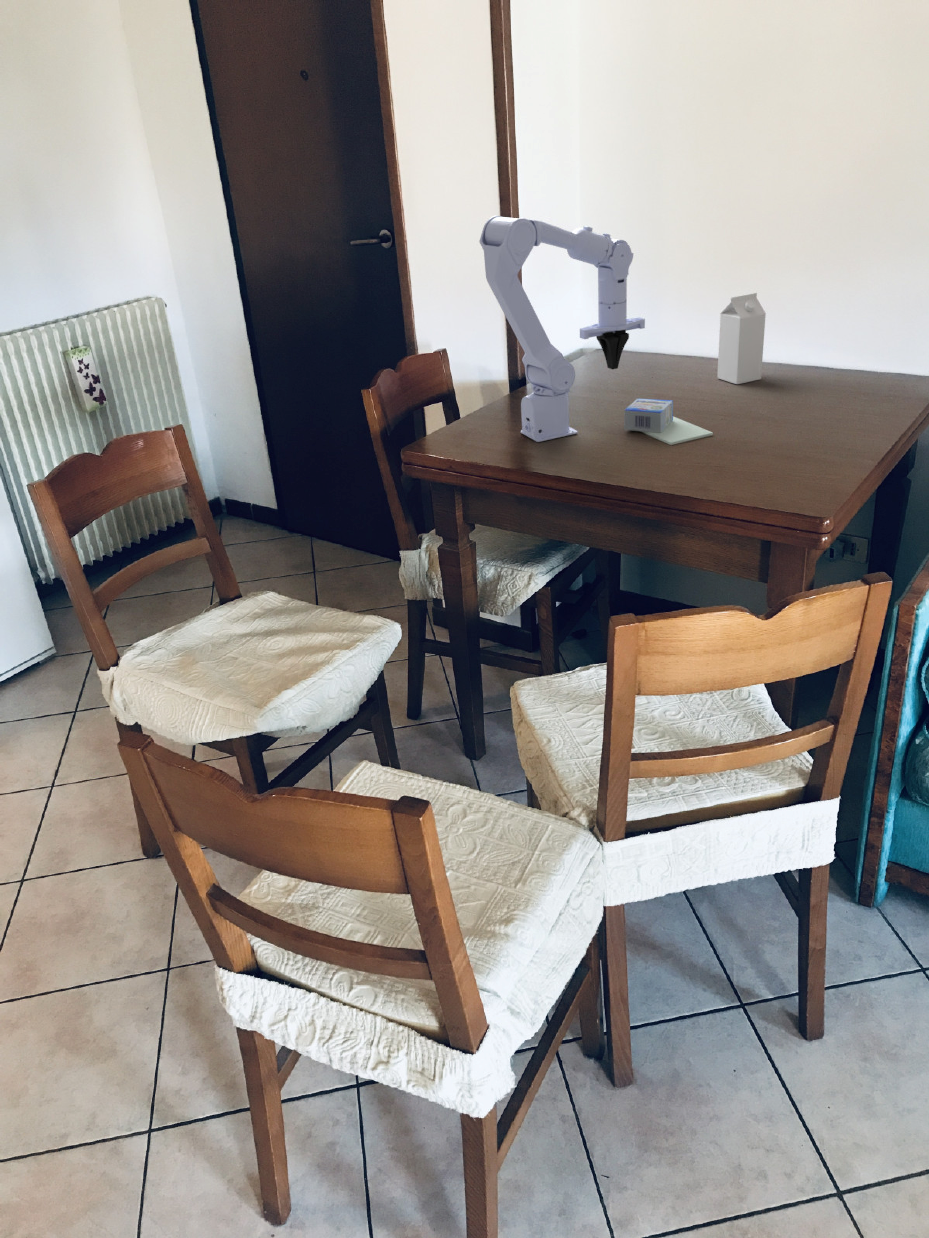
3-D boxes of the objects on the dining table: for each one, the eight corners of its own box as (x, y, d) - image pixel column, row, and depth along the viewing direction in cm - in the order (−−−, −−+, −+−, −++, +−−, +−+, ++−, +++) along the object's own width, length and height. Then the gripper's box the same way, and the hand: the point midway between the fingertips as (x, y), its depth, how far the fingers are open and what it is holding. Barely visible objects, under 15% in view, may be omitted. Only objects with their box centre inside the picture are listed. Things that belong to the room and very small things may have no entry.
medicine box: (623, 410, 193) (636, 397, 200) (623, 431, 195) (636, 418, 202) (661, 412, 190) (673, 399, 196) (661, 434, 192) (673, 420, 199)
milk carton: (716, 379, 225) (721, 295, 216) (741, 373, 227) (746, 291, 218) (736, 385, 219) (741, 300, 210) (761, 379, 221) (767, 295, 212)
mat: (670, 445, 187) (670, 442, 187) (629, 426, 199) (629, 423, 199) (712, 435, 190) (713, 432, 190) (669, 417, 202) (669, 414, 202)
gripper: (591, 310, 189) (592, 378, 195) (653, 299, 194) (652, 365, 200) (573, 304, 195) (575, 371, 201) (634, 294, 199) (634, 359, 206)
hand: (612, 368), depth 201 cm, fingers closed
